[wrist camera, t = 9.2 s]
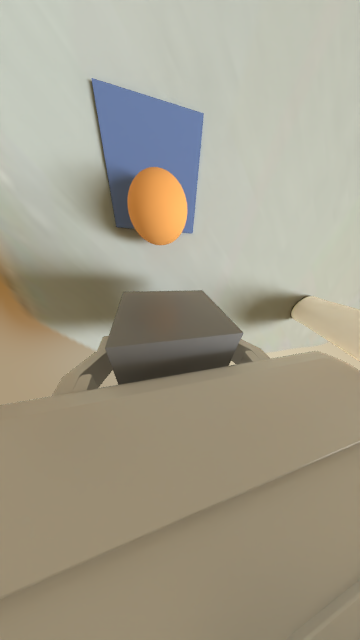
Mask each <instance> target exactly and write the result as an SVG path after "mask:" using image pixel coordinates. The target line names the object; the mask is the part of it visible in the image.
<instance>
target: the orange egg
mask: <svg viewBox="0 0 360 640" xmlns="http://www.w3.org/2000/svg"><path fill="white" fill-rule="evenodd" d="M127 203H128V212H129V216H130V219H131V222H132V224H133V226H134V228H135V229H136V231H137V232H138V233H139V235H140V236H141V237H142V238H144V239H145V240H146V241H148V242H150V243H152V244H155V245H166V244H169V243H171V242H173V241H174V240H176V239H177V238H178V237H179V235H180V234H181V233H182V231H183V229H184V227H185V223H186V220H187V201H186V197H185V194H184V191H183V189H182V186H181V185H180V183H179V182H178V180H177V179H176V178H175V177H174V176H173V175H172V174H171V173H170V172H168V171H167V170H165V169H162V168H159V167H149V168H146V169H144V170H142V171H140V172H139V173H138V174H137V175H136V176H135V178H134V179H133V181H132V183H131V185H130V188H129V192H128V200H127Z"/></svg>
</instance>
